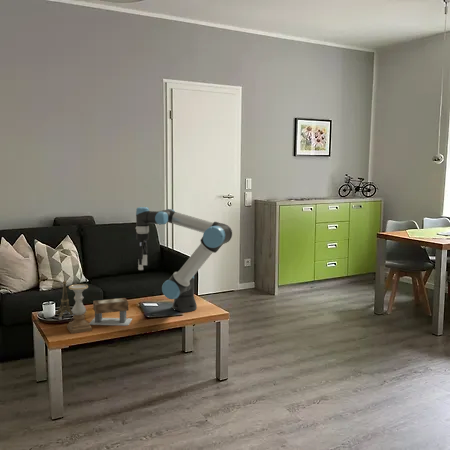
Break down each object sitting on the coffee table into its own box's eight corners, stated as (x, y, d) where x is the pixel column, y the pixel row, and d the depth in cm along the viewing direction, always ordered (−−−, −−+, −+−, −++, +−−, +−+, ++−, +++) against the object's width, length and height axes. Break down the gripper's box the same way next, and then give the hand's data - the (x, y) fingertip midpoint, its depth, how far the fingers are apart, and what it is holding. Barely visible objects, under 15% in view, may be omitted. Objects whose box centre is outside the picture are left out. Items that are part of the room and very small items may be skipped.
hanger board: (132, 319, 293) (132, 307, 292) (128, 325, 282) (128, 313, 282) (94, 318, 294) (94, 306, 293) (88, 324, 283) (88, 312, 282)
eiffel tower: (58, 320, 290) (57, 277, 287) (53, 315, 299) (52, 273, 296) (77, 317, 296) (76, 275, 293) (71, 312, 305) (70, 271, 302)
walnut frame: (125, 306, 295) (124, 297, 294) (128, 310, 287) (128, 301, 286) (93, 309, 288) (93, 300, 287) (95, 313, 280) (95, 304, 279)
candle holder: (66, 327, 278) (65, 285, 275) (86, 324, 283) (86, 282, 280) (71, 333, 268) (70, 289, 265) (92, 330, 273) (91, 287, 270)
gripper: (140, 229, 318) (140, 263, 321) (132, 235, 293) (132, 271, 296) (152, 230, 318) (152, 263, 321) (145, 236, 293) (145, 272, 296)
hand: (142, 267), depth 308 cm, fingers open, 13 cm apart
